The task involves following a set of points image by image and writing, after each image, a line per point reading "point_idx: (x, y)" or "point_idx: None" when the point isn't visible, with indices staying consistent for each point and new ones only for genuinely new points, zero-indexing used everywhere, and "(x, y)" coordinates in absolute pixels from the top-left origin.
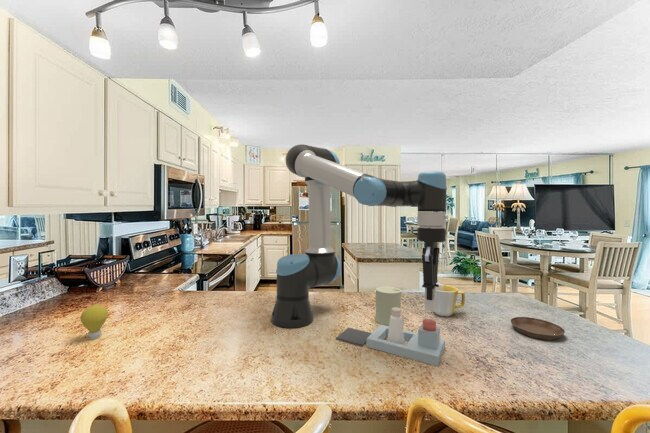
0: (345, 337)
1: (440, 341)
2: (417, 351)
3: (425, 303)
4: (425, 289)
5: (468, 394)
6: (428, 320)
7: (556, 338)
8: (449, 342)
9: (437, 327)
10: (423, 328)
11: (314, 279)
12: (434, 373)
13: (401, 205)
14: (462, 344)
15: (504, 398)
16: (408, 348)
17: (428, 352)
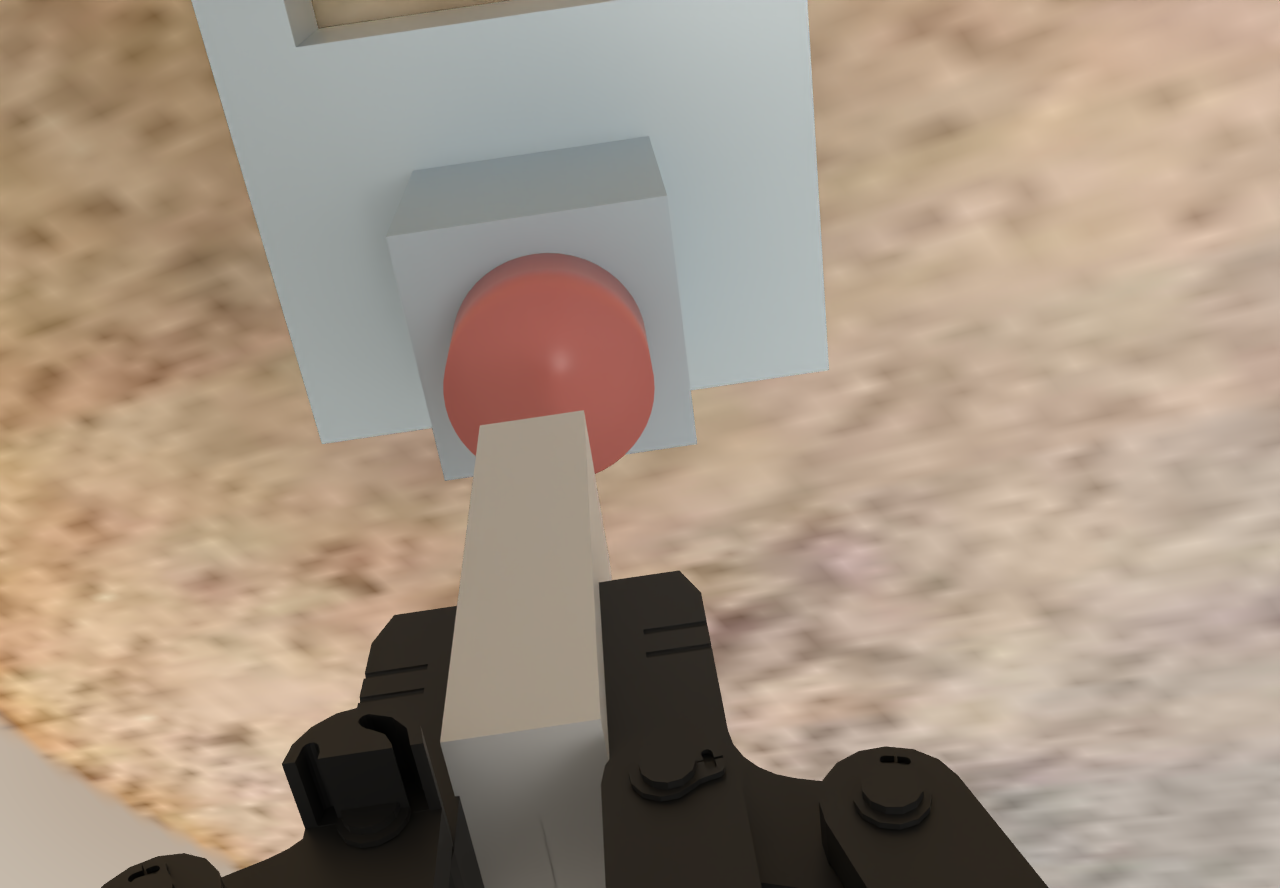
0: None
1: (721, 350)
2: (257, 224)
3: (475, 505)
4: (445, 711)
5: (105, 681)
6: (588, 366)
7: None
8: (974, 332)
9: (674, 419)
10: (473, 290)
11: None
12: (180, 410)
13: None
14: (998, 450)
15: (263, 840)
16: (241, 103)
17: (334, 333)
